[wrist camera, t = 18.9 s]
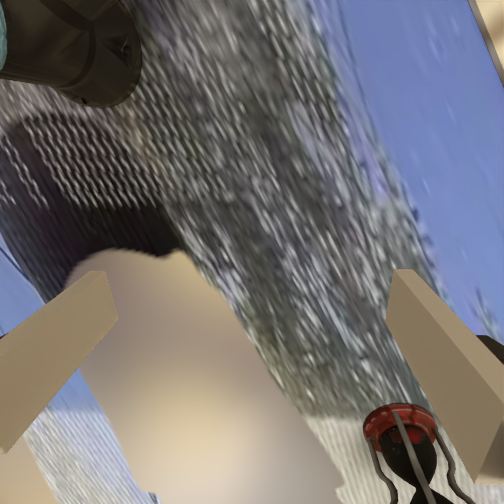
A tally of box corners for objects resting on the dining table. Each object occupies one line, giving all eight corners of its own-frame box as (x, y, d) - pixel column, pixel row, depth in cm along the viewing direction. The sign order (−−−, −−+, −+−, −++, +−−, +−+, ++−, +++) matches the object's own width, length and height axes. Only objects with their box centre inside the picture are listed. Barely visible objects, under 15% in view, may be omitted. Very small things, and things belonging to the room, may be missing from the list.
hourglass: (429, 396, 63) (516, 550, 40) (439, 443, 68) (519, 601, 45) (355, 409, 66) (396, 557, 43) (370, 452, 72) (413, 604, 49)
